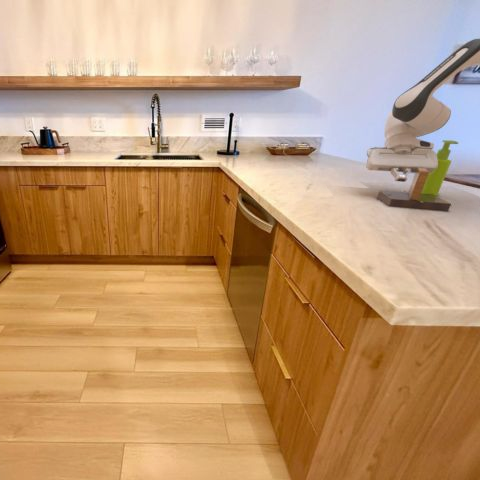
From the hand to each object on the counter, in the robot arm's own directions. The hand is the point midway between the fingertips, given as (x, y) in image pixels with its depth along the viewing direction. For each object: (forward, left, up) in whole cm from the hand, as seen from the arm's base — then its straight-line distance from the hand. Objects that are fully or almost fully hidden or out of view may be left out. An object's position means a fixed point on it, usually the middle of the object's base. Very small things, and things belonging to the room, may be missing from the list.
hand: (400, 180), depth 100 cm
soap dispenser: (-16, -14, -8) cm, 23 cm away
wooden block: (-4, +4, -4) cm, 7 cm away
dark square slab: (-4, +4, -7) cm, 9 cm away
